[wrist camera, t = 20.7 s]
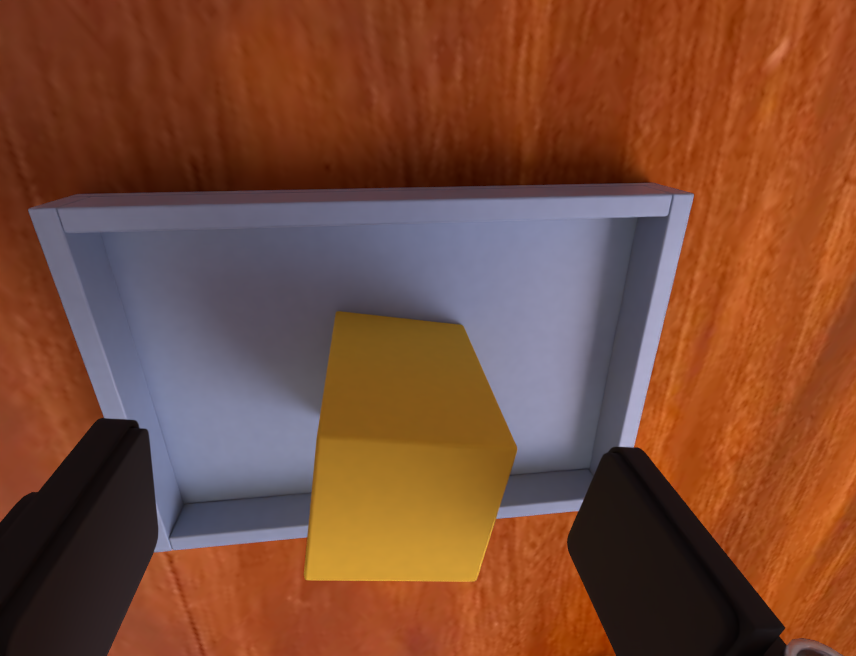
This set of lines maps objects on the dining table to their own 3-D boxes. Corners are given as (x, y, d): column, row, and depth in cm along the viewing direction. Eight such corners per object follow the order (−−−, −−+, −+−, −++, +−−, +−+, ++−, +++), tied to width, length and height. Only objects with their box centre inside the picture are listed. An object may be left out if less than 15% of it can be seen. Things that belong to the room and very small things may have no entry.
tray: (175, 506, 17) (153, 553, 15) (76, 193, 12) (25, 208, 10) (595, 469, 19) (619, 507, 17) (653, 182, 14) (695, 193, 12)
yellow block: (325, 418, 16) (303, 582, 10) (336, 309, 14) (316, 435, 9) (440, 426, 16) (477, 583, 11) (463, 323, 15) (520, 449, 9)
